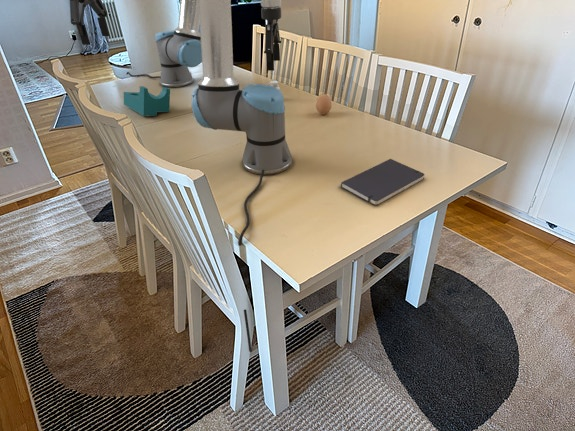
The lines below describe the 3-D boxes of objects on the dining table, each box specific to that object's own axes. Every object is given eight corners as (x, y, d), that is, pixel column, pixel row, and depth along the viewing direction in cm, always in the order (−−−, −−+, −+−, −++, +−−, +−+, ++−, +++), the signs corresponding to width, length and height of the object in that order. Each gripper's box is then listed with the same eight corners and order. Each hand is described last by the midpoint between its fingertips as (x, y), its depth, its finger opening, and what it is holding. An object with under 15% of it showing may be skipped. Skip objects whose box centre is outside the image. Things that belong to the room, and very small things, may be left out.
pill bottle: (270, 98, 174) (269, 80, 169) (280, 98, 173) (279, 80, 169) (269, 102, 170) (268, 83, 165) (279, 102, 170) (279, 83, 165)
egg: (320, 118, 154) (320, 97, 149) (313, 113, 158) (313, 93, 154) (334, 115, 156) (335, 95, 151) (326, 110, 160) (327, 90, 156)
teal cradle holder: (169, 115, 164) (170, 89, 159) (143, 115, 156) (144, 88, 152) (148, 104, 174) (148, 79, 170) (123, 104, 167) (123, 78, 163)
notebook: (389, 163, 124) (340, 187, 113) (390, 158, 123) (341, 182, 112) (424, 178, 116) (375, 206, 105) (425, 174, 115) (376, 201, 104)
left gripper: (87, -30, 149) (104, 32, 161) (45, -22, 129) (67, 48, 141) (106, -30, 148) (121, 32, 160) (66, -22, 128) (87, 48, 140)
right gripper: (267, 1, 161) (270, 56, 174) (254, 13, 141) (258, 74, 154) (286, 1, 160) (287, 56, 173) (275, 13, 140) (277, 75, 153)
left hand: (96, 40), depth 151 cm, fingers open, 13 cm apart
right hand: (273, 65), depth 163 cm, fingers open, 13 cm apart
